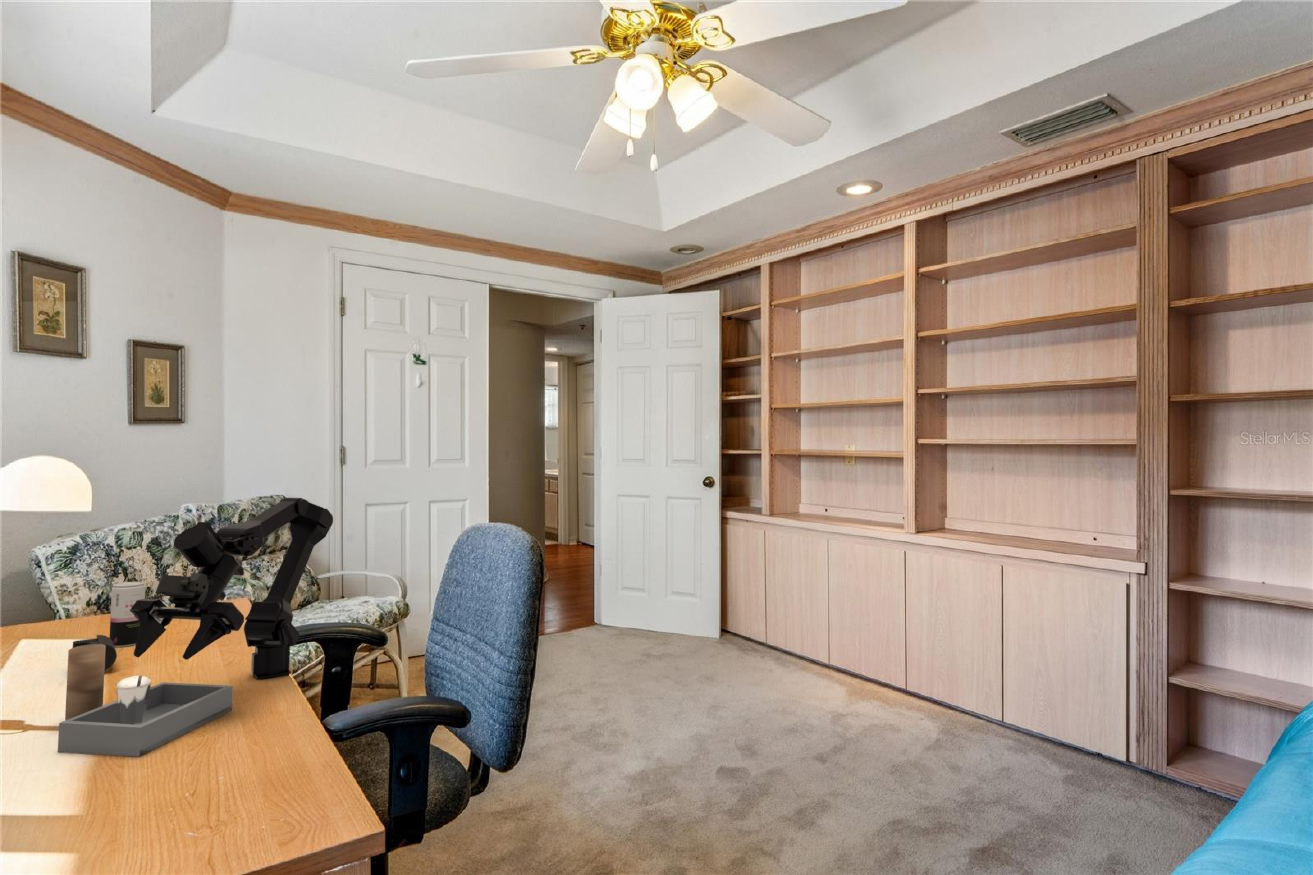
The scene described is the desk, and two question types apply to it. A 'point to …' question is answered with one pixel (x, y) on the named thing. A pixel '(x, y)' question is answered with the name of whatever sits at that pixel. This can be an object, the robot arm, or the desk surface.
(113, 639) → the beverage can
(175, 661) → the desk surface
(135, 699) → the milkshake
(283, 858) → the desk surface
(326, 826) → the desk surface
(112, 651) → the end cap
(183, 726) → the tray
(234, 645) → the desk surface
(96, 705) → the walnut cylinder
